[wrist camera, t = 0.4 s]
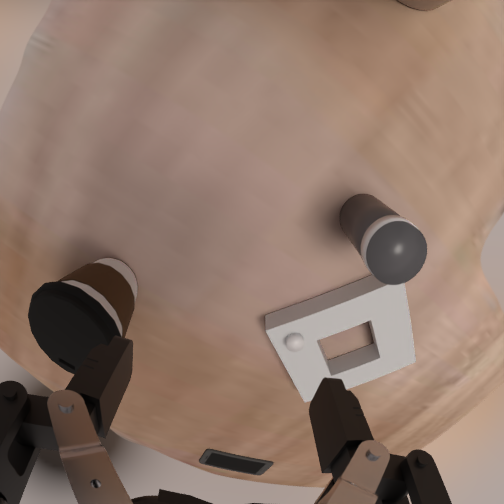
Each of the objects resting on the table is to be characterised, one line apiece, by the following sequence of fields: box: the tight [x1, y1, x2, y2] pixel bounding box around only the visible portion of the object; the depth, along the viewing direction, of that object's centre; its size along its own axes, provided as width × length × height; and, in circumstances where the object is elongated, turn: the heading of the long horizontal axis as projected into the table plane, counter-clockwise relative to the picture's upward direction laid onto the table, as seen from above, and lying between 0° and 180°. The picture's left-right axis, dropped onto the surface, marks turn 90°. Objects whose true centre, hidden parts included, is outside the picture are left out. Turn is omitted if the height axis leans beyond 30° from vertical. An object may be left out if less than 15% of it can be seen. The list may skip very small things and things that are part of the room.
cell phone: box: [199, 449, 273, 475], centre depth 51 cm, size 7×14×1 cm, turn 69°
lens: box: [340, 194, 427, 285], centre depth 26 cm, size 5×5×10 cm
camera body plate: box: [265, 275, 416, 402], centre depth 35 cm, size 16×14×4 cm
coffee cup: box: [28, 258, 138, 374], centre depth 29 cm, size 11×11×12 cm
